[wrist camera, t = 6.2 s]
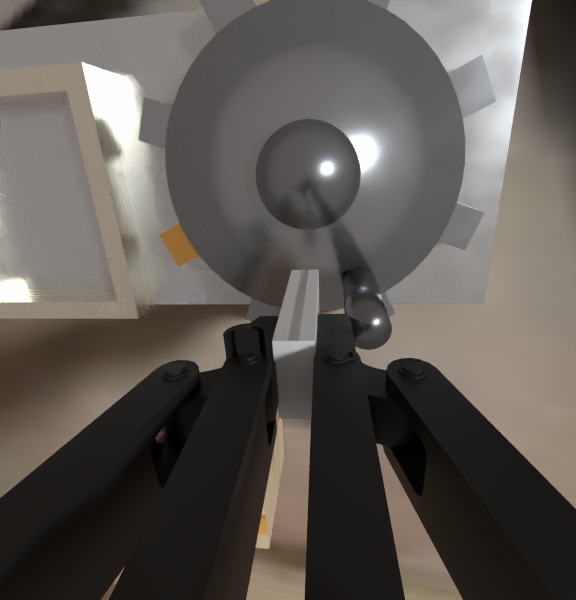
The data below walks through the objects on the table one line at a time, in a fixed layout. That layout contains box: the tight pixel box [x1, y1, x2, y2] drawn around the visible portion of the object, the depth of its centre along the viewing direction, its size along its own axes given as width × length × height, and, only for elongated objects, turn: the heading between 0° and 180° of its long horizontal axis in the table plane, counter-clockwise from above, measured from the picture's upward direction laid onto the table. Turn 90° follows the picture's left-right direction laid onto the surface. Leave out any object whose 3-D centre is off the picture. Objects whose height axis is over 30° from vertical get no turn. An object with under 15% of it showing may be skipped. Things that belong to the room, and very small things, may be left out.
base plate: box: [0, 0, 532, 319], centre depth 18 cm, size 30×14×3 cm, turn 93°
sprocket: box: [138, 0, 496, 350], centre depth 15 cm, size 16×16×7 cm
